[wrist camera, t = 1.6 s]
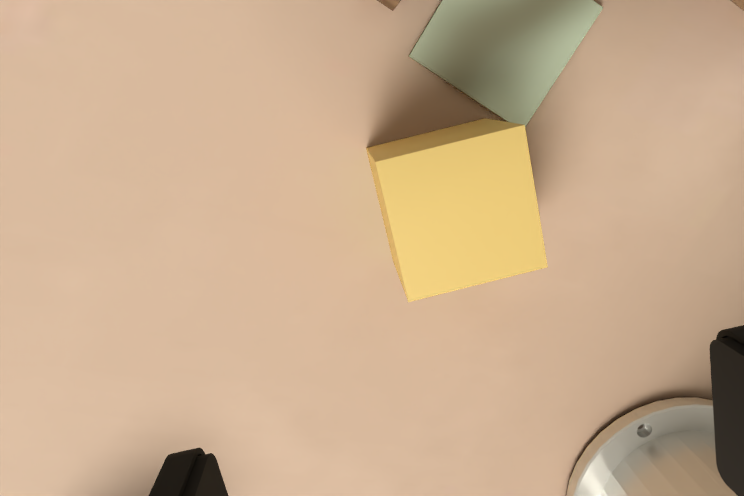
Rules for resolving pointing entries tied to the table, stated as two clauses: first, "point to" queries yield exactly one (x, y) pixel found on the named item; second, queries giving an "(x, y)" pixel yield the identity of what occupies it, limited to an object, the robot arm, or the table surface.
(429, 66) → the brown l-shaped piece
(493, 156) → the cube
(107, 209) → the table surface
